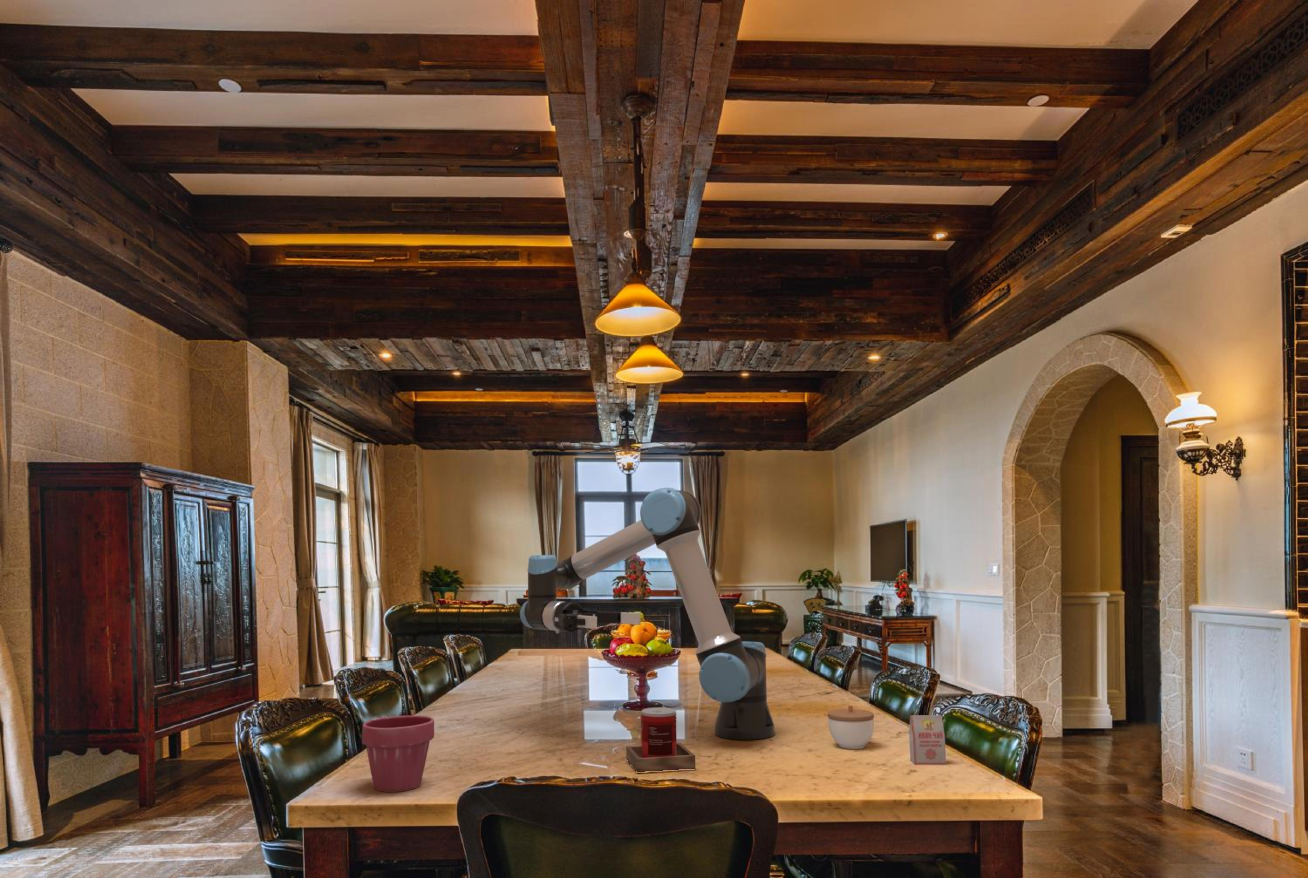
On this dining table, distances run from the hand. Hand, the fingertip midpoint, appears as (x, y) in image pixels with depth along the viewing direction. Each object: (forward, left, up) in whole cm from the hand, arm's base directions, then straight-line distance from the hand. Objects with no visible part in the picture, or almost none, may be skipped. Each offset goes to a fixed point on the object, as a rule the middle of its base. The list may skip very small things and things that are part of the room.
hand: (618, 620), depth 209 cm
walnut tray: (-6, +15, -30) cm, 34 cm away
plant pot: (+49, +18, -30) cm, 60 cm away
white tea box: (-63, +28, -30) cm, 76 cm away
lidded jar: (-54, +9, -30) cm, 63 cm away
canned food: (-6, +15, -30) cm, 34 cm away
